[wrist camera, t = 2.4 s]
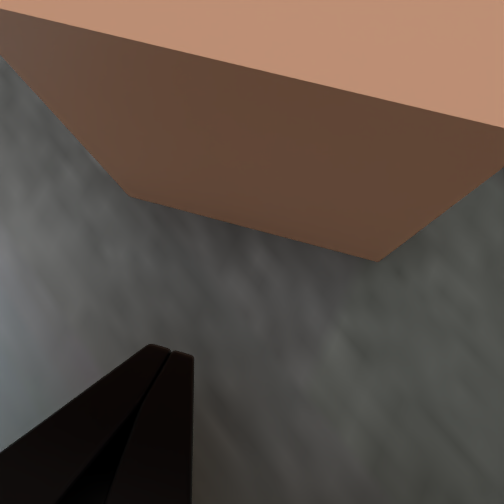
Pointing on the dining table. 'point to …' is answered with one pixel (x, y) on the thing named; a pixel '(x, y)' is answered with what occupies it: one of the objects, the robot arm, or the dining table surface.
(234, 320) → the dining table surface
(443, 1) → the tan rectangular block
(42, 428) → the robot arm
